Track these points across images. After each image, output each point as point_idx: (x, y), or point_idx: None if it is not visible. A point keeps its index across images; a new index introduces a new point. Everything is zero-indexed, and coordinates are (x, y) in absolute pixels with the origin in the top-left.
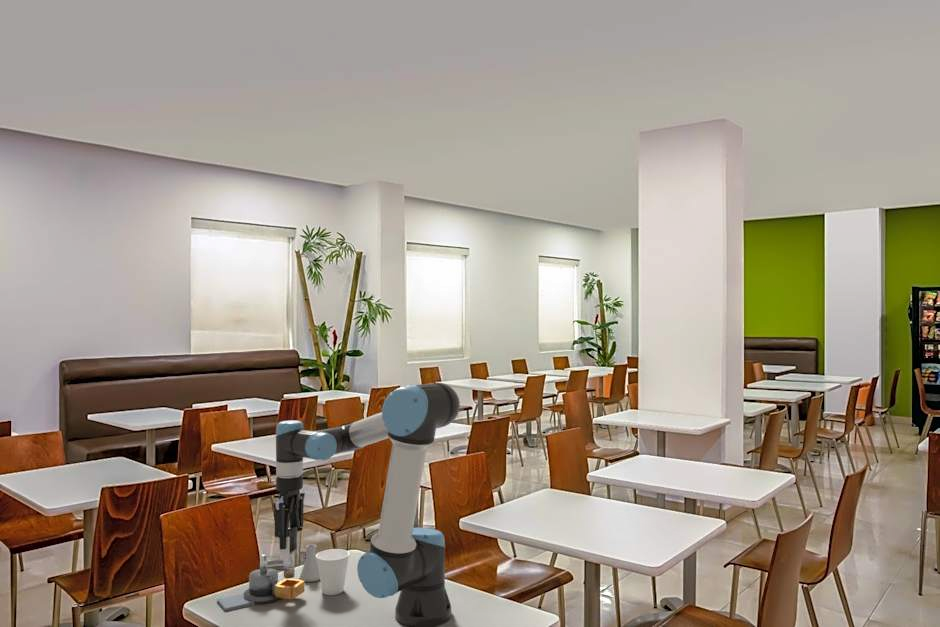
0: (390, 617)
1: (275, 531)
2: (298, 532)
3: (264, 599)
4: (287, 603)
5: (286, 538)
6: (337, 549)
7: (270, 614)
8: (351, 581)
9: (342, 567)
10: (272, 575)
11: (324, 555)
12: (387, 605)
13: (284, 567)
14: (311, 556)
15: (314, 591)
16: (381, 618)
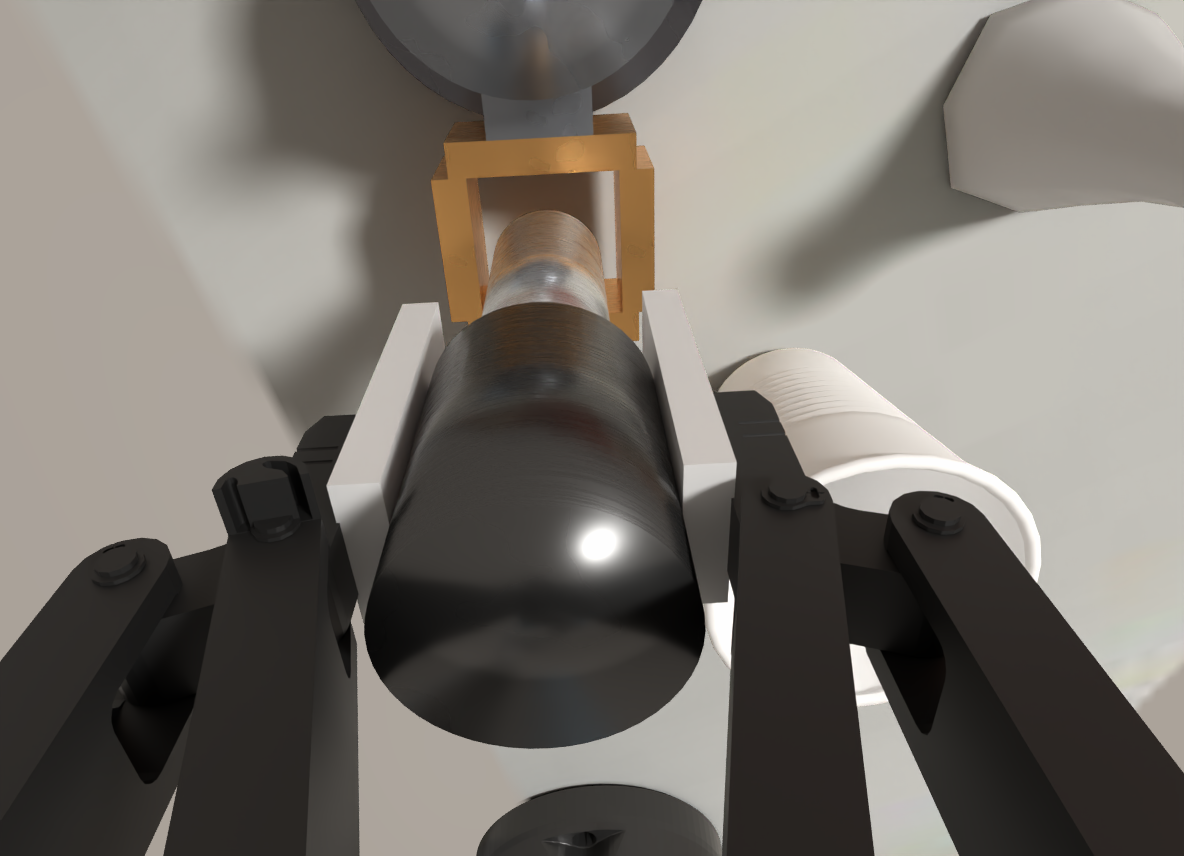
0: (534, 778)
1: (31, 651)
2: (719, 593)
3: (387, 48)
4: (486, 225)
5: (362, 584)
6: (1031, 566)
7: (260, 222)
8: (989, 432)
9: None
10: (497, 78)
11: (952, 457)
12: (662, 725)
13: (488, 283)
14: (1136, 182)
15: (760, 289)
16: (509, 756)
